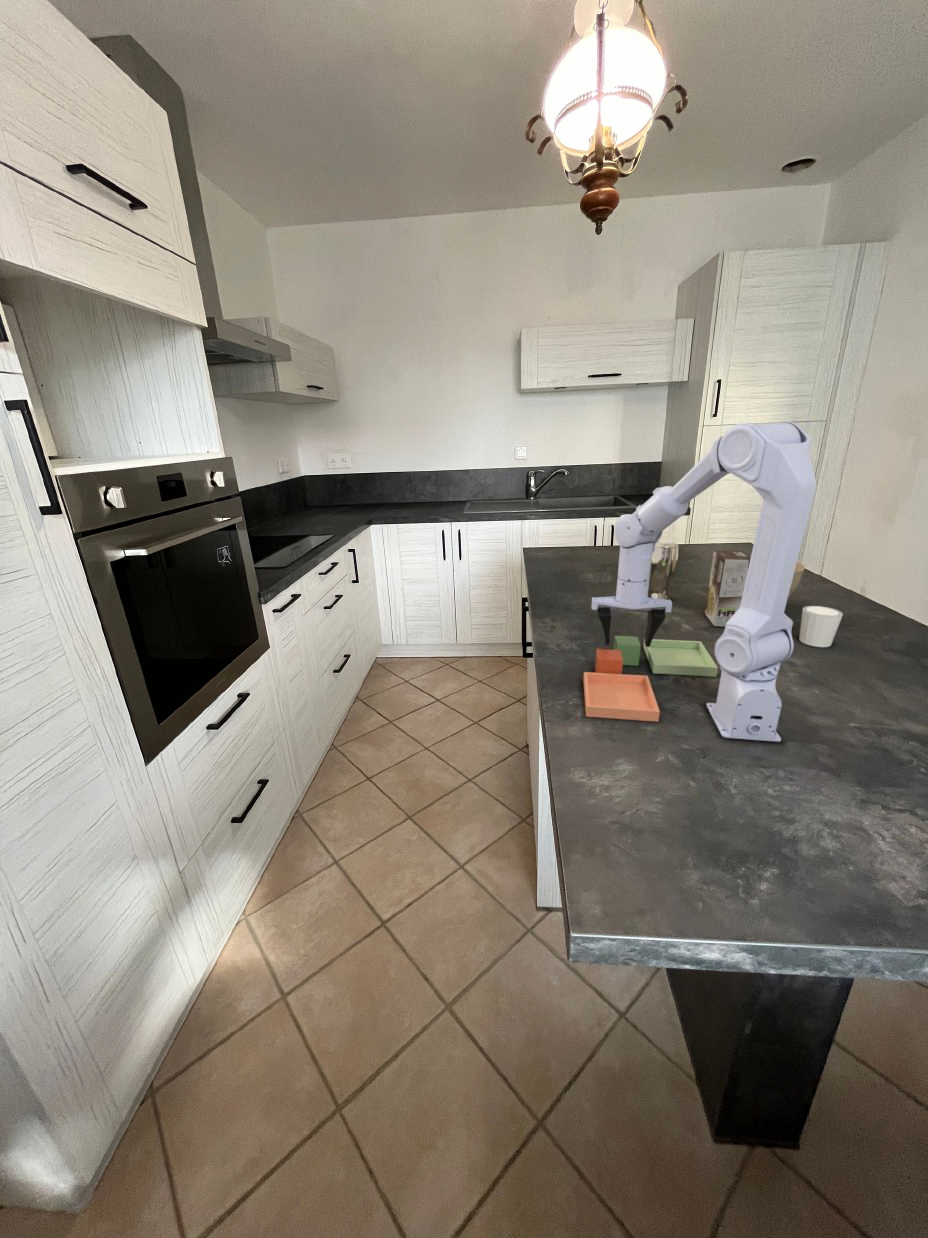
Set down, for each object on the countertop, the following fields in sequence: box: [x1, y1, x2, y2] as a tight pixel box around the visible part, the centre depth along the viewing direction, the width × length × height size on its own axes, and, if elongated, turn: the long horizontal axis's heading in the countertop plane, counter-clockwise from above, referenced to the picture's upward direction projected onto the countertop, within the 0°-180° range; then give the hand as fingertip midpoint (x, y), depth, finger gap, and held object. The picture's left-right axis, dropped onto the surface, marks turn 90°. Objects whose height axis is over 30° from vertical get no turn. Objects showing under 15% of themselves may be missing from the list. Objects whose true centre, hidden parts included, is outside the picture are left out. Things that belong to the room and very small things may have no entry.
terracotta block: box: [594, 648, 624, 674], centre depth 91 cm, size 4×4×4 cm
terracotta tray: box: [583, 671, 660, 723], centre depth 83 cm, size 12×11×2 cm
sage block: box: [613, 635, 641, 667], centre depth 97 cm, size 4×4×4 cm
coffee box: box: [704, 549, 751, 628], centre depth 113 cm, size 9×6×16 cm
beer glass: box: [648, 541, 680, 601], centre depth 129 cm, size 7×7×15 cm
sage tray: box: [643, 638, 719, 678], centre depth 96 cm, size 12×11×2 cm
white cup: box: [798, 605, 844, 648], centre depth 102 cm, size 7×7×7 cm
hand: (626, 643), depth 96 cm, fingers open, 7 cm apart
